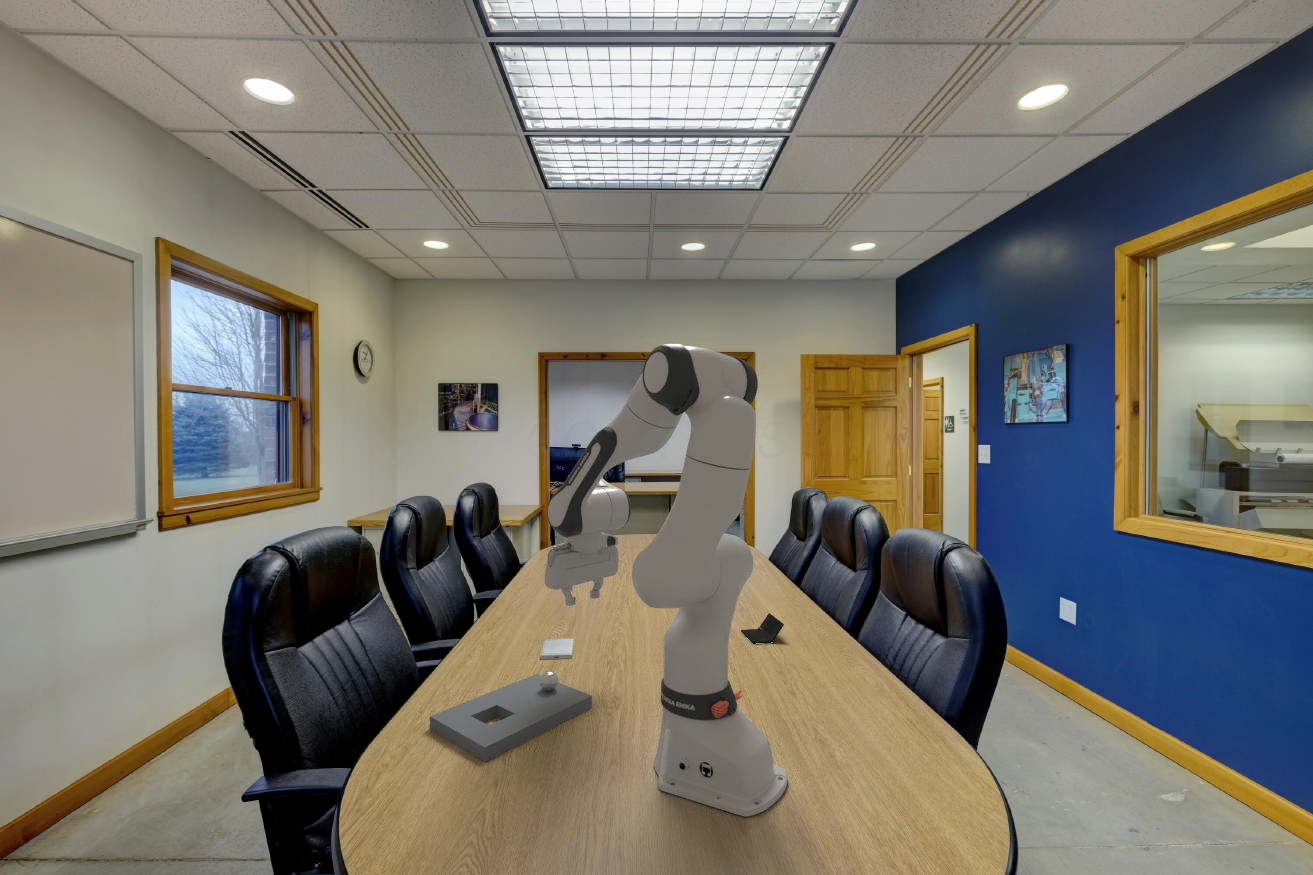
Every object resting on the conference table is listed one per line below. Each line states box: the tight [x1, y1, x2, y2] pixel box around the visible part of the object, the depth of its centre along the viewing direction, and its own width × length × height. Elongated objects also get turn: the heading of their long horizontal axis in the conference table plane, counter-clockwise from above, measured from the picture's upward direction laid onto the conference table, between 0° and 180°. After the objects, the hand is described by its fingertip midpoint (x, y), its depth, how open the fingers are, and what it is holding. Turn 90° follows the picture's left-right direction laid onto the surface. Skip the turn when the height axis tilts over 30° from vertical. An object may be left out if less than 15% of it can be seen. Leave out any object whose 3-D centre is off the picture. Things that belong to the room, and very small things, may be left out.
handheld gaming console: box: [740, 613, 785, 645], centre depth 160 cm, size 12×7×10 cm
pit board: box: [429, 673, 593, 763], centre depth 111 cm, size 18×26×2 cm
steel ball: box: [539, 670, 559, 691], centre depth 119 cm, size 4×4×4 cm
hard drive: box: [539, 638, 575, 661], centre depth 149 cm, size 2×8×12 cm
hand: (582, 601), depth 127 cm, fingers open, 6 cm apart
